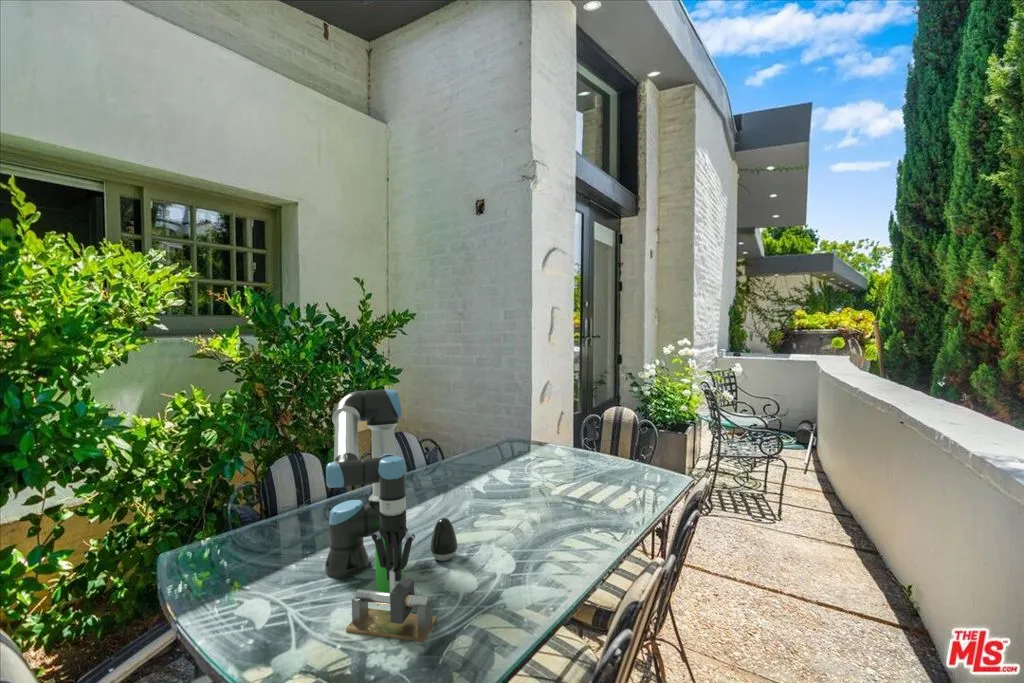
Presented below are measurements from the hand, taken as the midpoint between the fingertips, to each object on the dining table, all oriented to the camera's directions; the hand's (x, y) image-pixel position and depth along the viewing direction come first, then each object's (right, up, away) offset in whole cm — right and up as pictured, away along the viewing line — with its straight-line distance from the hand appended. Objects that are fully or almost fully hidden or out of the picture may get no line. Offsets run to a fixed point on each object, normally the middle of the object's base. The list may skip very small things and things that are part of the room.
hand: (394, 590), depth 132 cm
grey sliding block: (+3, -7, 0) cm, 7 cm away
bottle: (-7, -11, +20) cm, 24 cm away
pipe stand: (-1, -11, +1) cm, 11 cm away
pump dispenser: (+9, -10, +41) cm, 43 cm away
